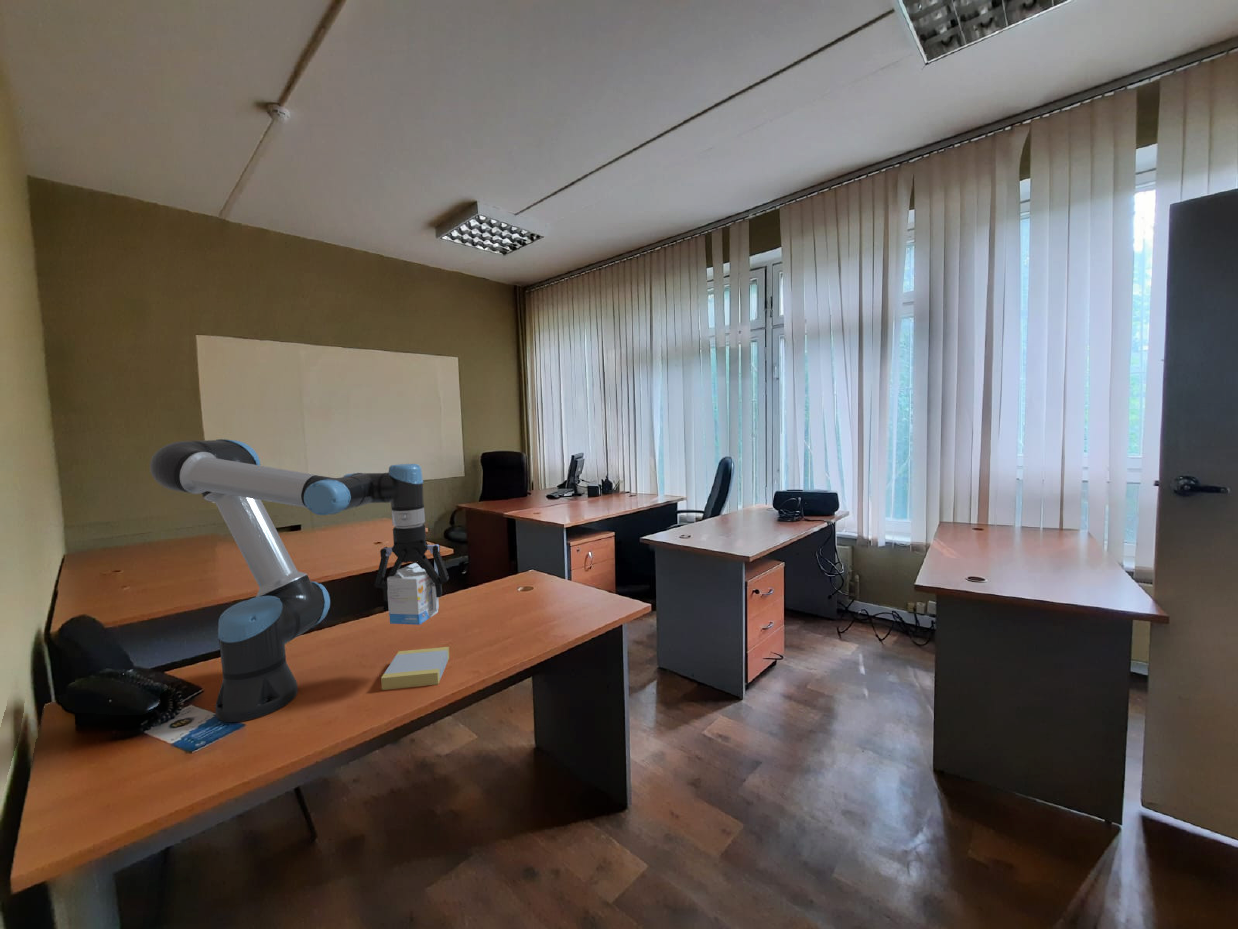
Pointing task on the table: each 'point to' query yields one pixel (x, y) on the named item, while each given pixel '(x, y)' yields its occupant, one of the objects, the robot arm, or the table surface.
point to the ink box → (410, 596)
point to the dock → (415, 668)
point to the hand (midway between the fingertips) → (414, 611)
